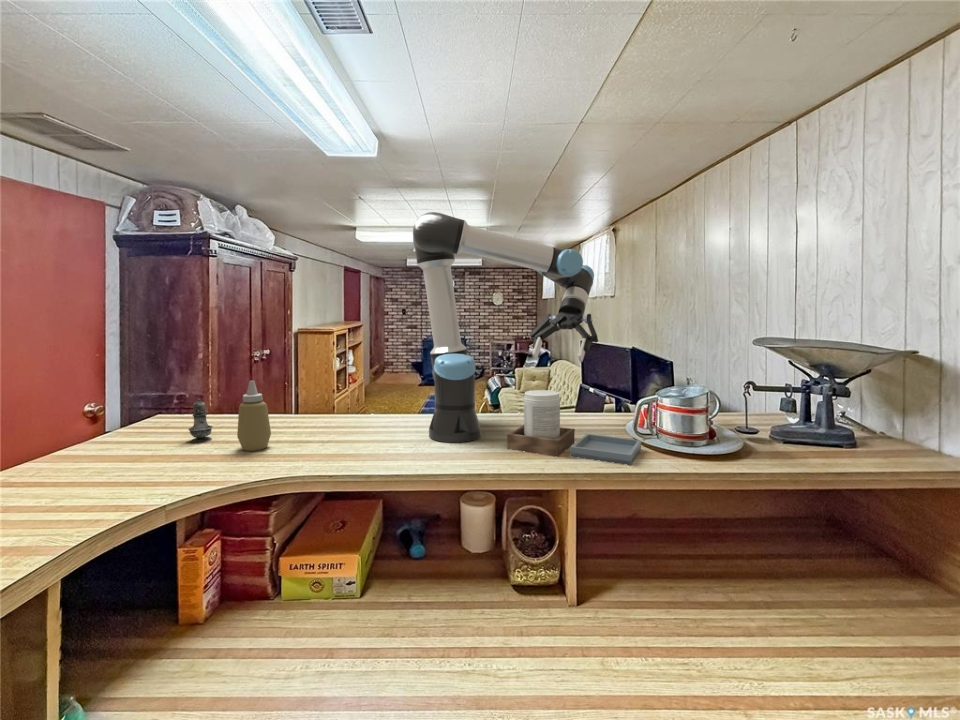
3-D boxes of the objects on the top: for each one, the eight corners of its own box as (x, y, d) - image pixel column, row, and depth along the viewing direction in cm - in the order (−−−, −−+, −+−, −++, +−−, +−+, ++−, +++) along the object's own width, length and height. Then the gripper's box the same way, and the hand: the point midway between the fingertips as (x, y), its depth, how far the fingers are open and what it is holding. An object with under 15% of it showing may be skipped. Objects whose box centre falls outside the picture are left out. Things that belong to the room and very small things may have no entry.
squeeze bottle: (276, 448, 126) (274, 380, 124) (245, 454, 120) (241, 384, 118) (264, 442, 131) (261, 377, 129) (233, 448, 125) (229, 381, 123)
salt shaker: (184, 441, 131) (181, 399, 130) (203, 436, 137) (201, 395, 136) (199, 444, 129) (196, 400, 128) (218, 438, 135) (215, 397, 133)
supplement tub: (566, 446, 128) (567, 392, 126) (544, 453, 121) (545, 397, 120) (538, 439, 135) (539, 388, 133) (516, 445, 128) (516, 392, 127)
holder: (507, 449, 125) (507, 434, 125) (527, 436, 138) (527, 423, 137) (557, 456, 119) (558, 441, 118) (574, 443, 131) (574, 428, 131)
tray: (570, 456, 119) (570, 446, 119) (586, 442, 132) (586, 433, 132) (630, 465, 112) (630, 455, 112) (640, 449, 125) (641, 440, 125)
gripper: (615, 313, 144) (602, 368, 132) (538, 313, 155) (520, 363, 144) (612, 295, 138) (598, 350, 127) (532, 297, 150) (512, 347, 138)
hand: (556, 357), depth 135 cm, fingers open, 13 cm apart
